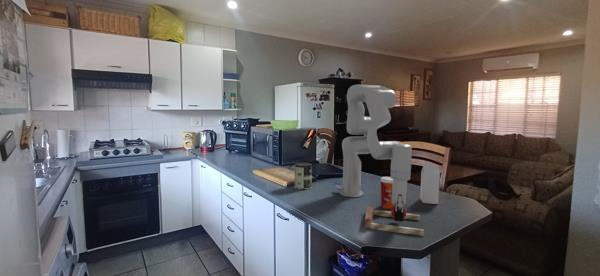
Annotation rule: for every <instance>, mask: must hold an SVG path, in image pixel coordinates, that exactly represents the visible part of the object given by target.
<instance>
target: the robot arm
mask: <svg viewBox="0 0 600 276" xmlns="http://www.w3.org/2000/svg"><path fill="white" fill-rule="evenodd" d="M346 100H347V109H348V110H347V117H346V118H347V119H346V132H347V133H348V134H350V135H353V136H347V137H345V138H344V139H342V141H341V148H342V157H343V159H342V160H343V168H342V169H343V171H342V173H343V174H342V184H340V185H339V184H335V186H334V188H335V189H336V190H340V191H339V195H341V196H344V197H348V198H361V197H362V196H364V192H363V190H361V187H362V186H361V182H362V181H361V179H362V161H361V159H360V157H359V156H358V155H368V154H370V155H371V157H372V158H373V159H375V160H391V161H390V177H391V178H392V179H393V184H392V203H393V204H394V206H395V205H396V210H395V216H394V218H393V219H394V221H395V222H401V223H402V222H404V219H403V207H404V205H406V200H407V199H406V198H407V186H408V184H407V183H408V181H410V180H411V174H412V171H411V170H412V156H413V155H412V153H413V152H412V151H413V150H412V149H413V148H412V146H411V145H410V144H407V143H402V142H401V141H397V140H392V141H391V140H387V141H386V140H385V141H383V140H380V141H379V138H378V134H377V133H378V132H377V131H378V129H380V128H382V127H384V126H386V125H387V124H389V123H390V122H391V120H392V117H391V113H390V111H389V110H390V109H392V108H393V107H395V106H396V105H397V103H398V102H397V101H398V97H397V94H396V92H395V91H394V90H392V89H390V88H387V87H385V86H383V85H377V84H376V85H375V84H353V85H351V86H349V88H348V90H347V93H346ZM363 103H365V104H366V107H367V110H368V114H369V116H365V110H366V109H365V106H364V104H363ZM354 135H356V136H354ZM359 135H362V136H359ZM397 205H398V206H397Z"/></svg>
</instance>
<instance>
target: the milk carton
mask: <svg viewBox="0 0 600 276" xmlns="http://www.w3.org/2000/svg"><path fill="white" fill-rule="evenodd" d="M440 178H441V174H440V169H439V164H425V163H424V164H423V165H422V168H421V174H420V192H419V199H420V201H421V203H422V204H433V205H436V204H437V205H438V204H439V197H440V196H439V195H440V180H441V179H440Z"/></svg>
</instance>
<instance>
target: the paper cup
mask: <svg viewBox="0 0 600 276" xmlns="http://www.w3.org/2000/svg"><path fill="white" fill-rule="evenodd" d="M392 184H393V179H392V178H391V176H382V177H381V178H380V205H381V208H383V209H384V210H385V209H386V210H391V209H392V208H393V206H394V205H395V203H394V204H393V203H392Z"/></svg>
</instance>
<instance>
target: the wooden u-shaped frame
mask: <svg viewBox="0 0 600 276" xmlns="http://www.w3.org/2000/svg"><path fill="white" fill-rule="evenodd" d="M374 207H375V206H374V205H373V204H368V205H367V206H366V211H365V212H366V213H365V217H364V229H367V228H370V229H369V230H375V229H377V230H376V231H384V232H392V233H399V234H405V235H415V236H424V233H425V231H424V229H423V228H416V227H406V226H400V225H392V224H384V223H383V224H382V223H375V222H373V218H374V216H377V217H387V218H393V216H392V214H391V211H387V210H381V209H380V210H379V209H374ZM420 218H421V217H420V214H414V213H407V212H406V216H405V218H404V219H405V220H413V221H420ZM404 219H403V220H404Z"/></svg>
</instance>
